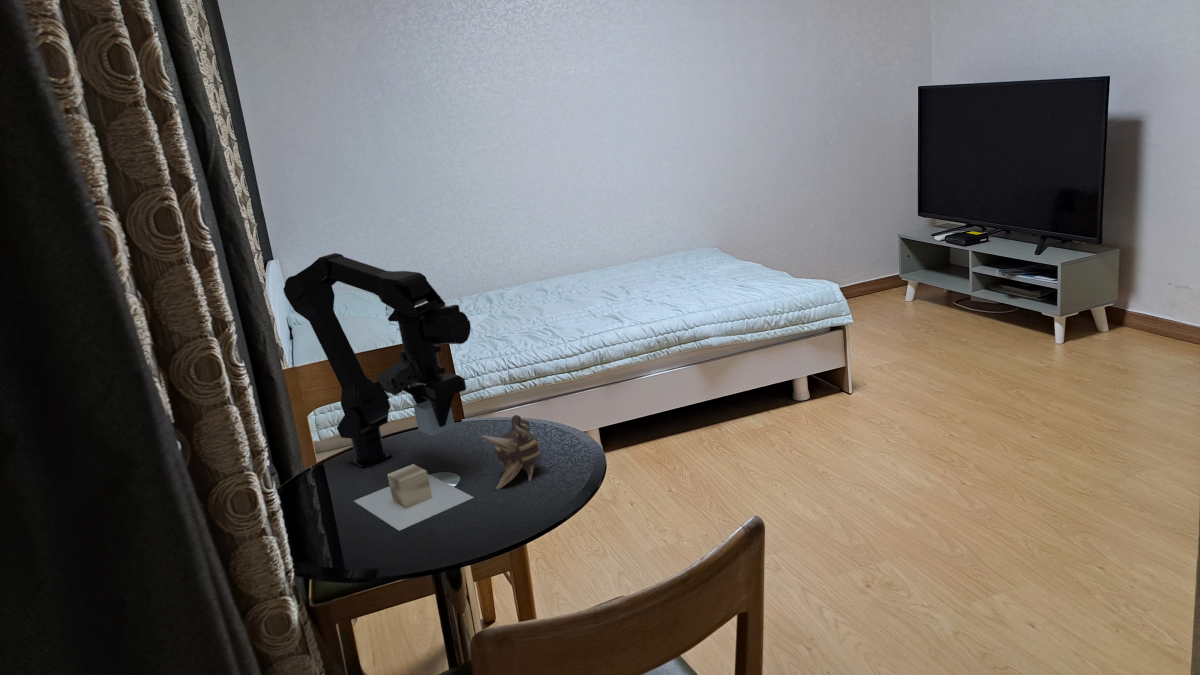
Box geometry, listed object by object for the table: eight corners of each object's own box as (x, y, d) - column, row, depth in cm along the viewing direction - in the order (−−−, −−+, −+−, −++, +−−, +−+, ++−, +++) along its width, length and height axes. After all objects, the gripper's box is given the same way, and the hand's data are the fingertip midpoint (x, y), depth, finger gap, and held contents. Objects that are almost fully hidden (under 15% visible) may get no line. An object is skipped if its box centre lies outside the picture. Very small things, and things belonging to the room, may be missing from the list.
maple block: (393, 500, 145) (387, 474, 144) (418, 490, 148) (413, 464, 147) (406, 508, 141) (400, 481, 140) (432, 497, 144) (426, 470, 143)
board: (354, 502, 148) (353, 500, 147) (424, 474, 156) (424, 472, 156) (399, 532, 134) (399, 530, 134) (474, 499, 142) (473, 497, 142)
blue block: (418, 430, 156) (413, 405, 155) (442, 421, 159) (436, 397, 158) (431, 435, 153) (425, 410, 151) (455, 426, 156) (450, 401, 154)
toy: (555, 456, 157) (540, 486, 142) (514, 463, 158) (494, 494, 144) (543, 401, 155) (525, 426, 141) (501, 409, 156) (479, 434, 142)
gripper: (356, 349, 154) (374, 428, 158) (401, 362, 140) (420, 449, 144) (410, 333, 161) (426, 409, 165) (459, 344, 146) (475, 427, 150)
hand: (435, 423), depth 156 cm, fingers closed on blue block, 5 cm apart
